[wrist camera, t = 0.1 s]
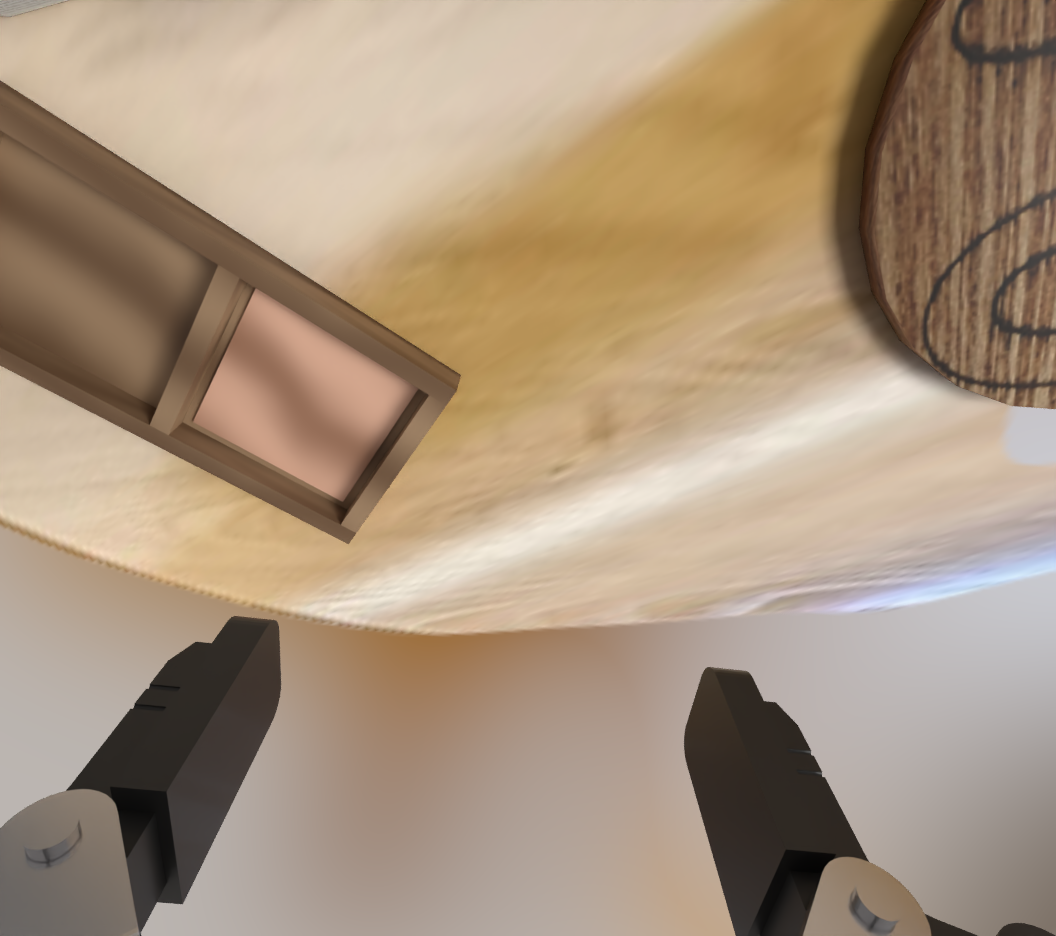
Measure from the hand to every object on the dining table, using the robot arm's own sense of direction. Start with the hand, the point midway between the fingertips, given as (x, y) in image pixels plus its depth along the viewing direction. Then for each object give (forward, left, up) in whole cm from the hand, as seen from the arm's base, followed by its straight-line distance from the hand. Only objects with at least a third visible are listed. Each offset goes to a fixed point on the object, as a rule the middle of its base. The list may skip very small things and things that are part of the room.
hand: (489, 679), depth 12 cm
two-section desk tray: (+10, -12, -22) cm, 28 cm away
